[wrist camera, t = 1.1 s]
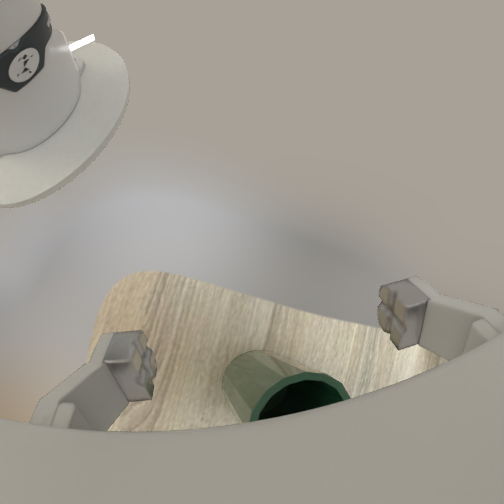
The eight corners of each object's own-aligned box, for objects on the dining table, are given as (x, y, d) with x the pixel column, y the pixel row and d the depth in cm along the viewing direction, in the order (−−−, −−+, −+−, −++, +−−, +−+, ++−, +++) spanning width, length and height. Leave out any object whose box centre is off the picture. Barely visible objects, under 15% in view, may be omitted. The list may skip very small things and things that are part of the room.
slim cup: (208, 394, 26) (226, 445, 14) (247, 336, 28) (291, 352, 16) (265, 425, 26) (313, 481, 15) (302, 371, 28) (369, 399, 17)
